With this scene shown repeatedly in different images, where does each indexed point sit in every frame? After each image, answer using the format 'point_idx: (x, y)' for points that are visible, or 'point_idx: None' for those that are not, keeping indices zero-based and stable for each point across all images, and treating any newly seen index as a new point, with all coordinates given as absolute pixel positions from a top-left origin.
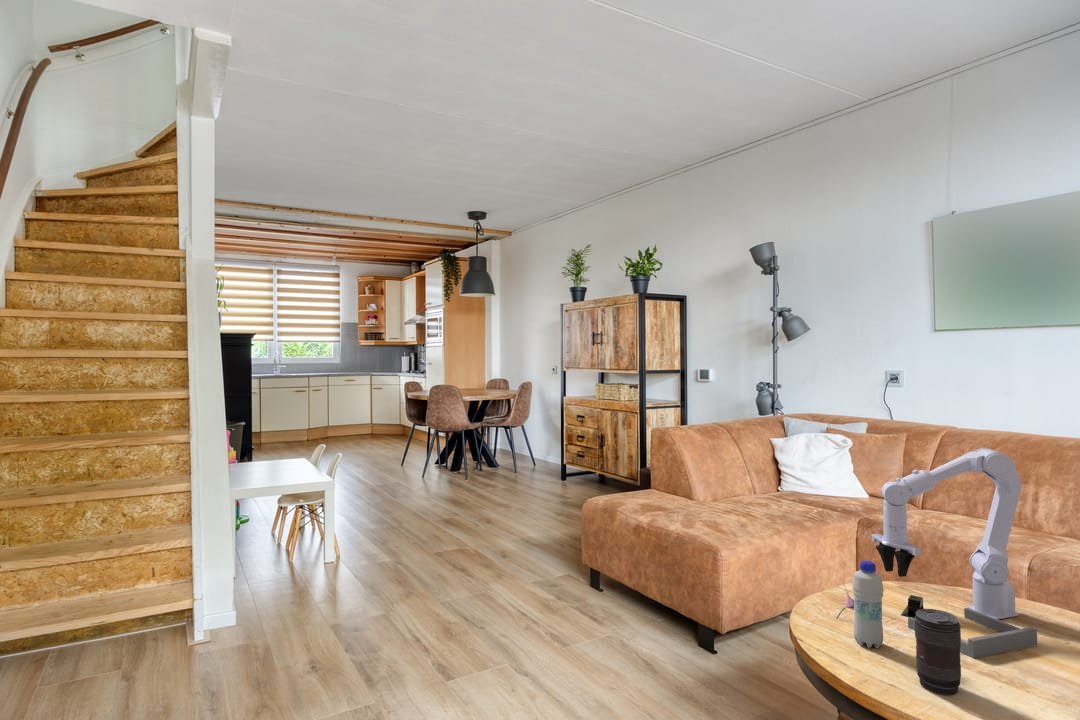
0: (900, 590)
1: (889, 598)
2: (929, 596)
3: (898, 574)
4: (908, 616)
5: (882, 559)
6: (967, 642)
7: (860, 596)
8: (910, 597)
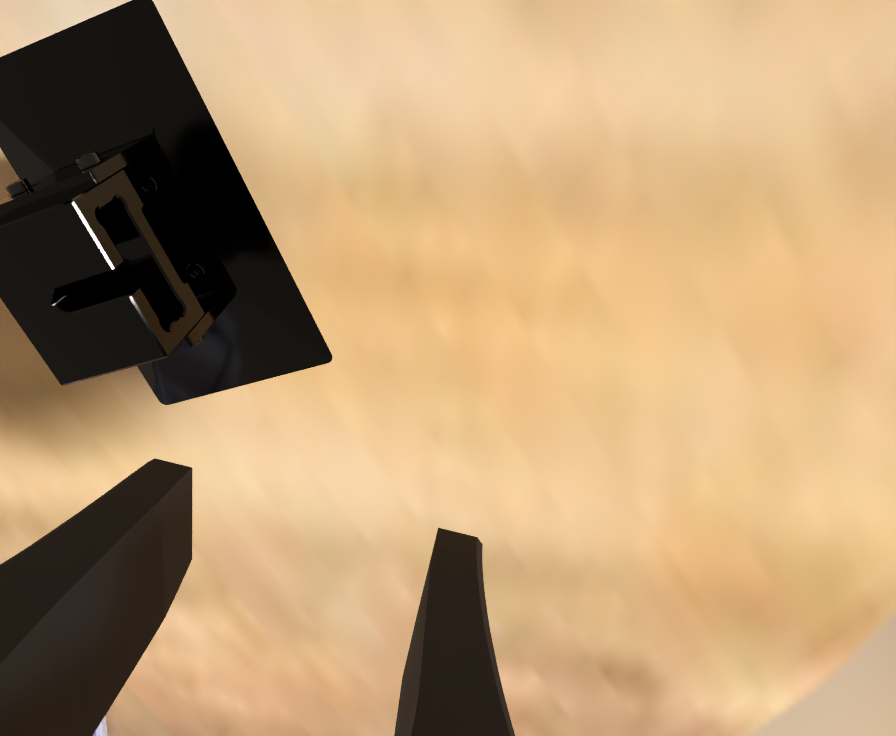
0: (590, 617)
1: (535, 375)
2: (379, 647)
3: (172, 481)
4: (92, 46)
5: (486, 714)
6: None
7: None
8: (98, 269)
